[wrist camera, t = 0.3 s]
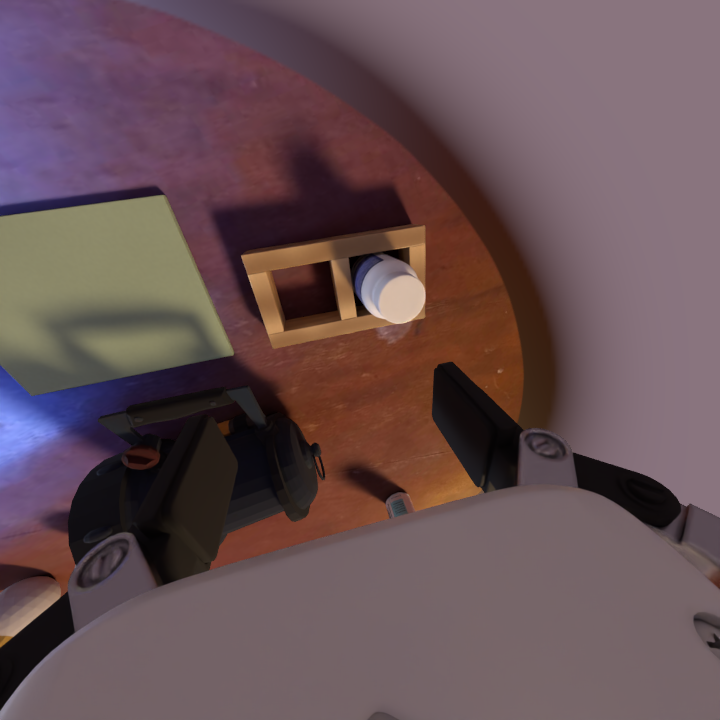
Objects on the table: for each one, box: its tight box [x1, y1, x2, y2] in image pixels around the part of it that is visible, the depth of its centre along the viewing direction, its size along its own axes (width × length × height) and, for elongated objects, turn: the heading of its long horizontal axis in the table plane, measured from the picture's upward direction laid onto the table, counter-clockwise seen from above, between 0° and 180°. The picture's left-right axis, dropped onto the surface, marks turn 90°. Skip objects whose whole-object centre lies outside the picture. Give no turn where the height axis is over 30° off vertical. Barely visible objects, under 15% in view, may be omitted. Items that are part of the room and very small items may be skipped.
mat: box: [0, 195, 234, 396], centre depth 24 cm, size 15×20×1 cm
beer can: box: [386, 492, 415, 519], centre depth 44 cm, size 5×5×12 cm
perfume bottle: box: [0, 576, 61, 647], centre depth 36 cm, size 8×10×12 cm
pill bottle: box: [351, 252, 425, 324], centre depth 24 cm, size 5×5×9 cm
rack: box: [241, 224, 425, 349], centre depth 26 cm, size 9×16×3 cm, turn 97°
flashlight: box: [68, 385, 325, 566], centre depth 27 cm, size 15×21×20 cm
